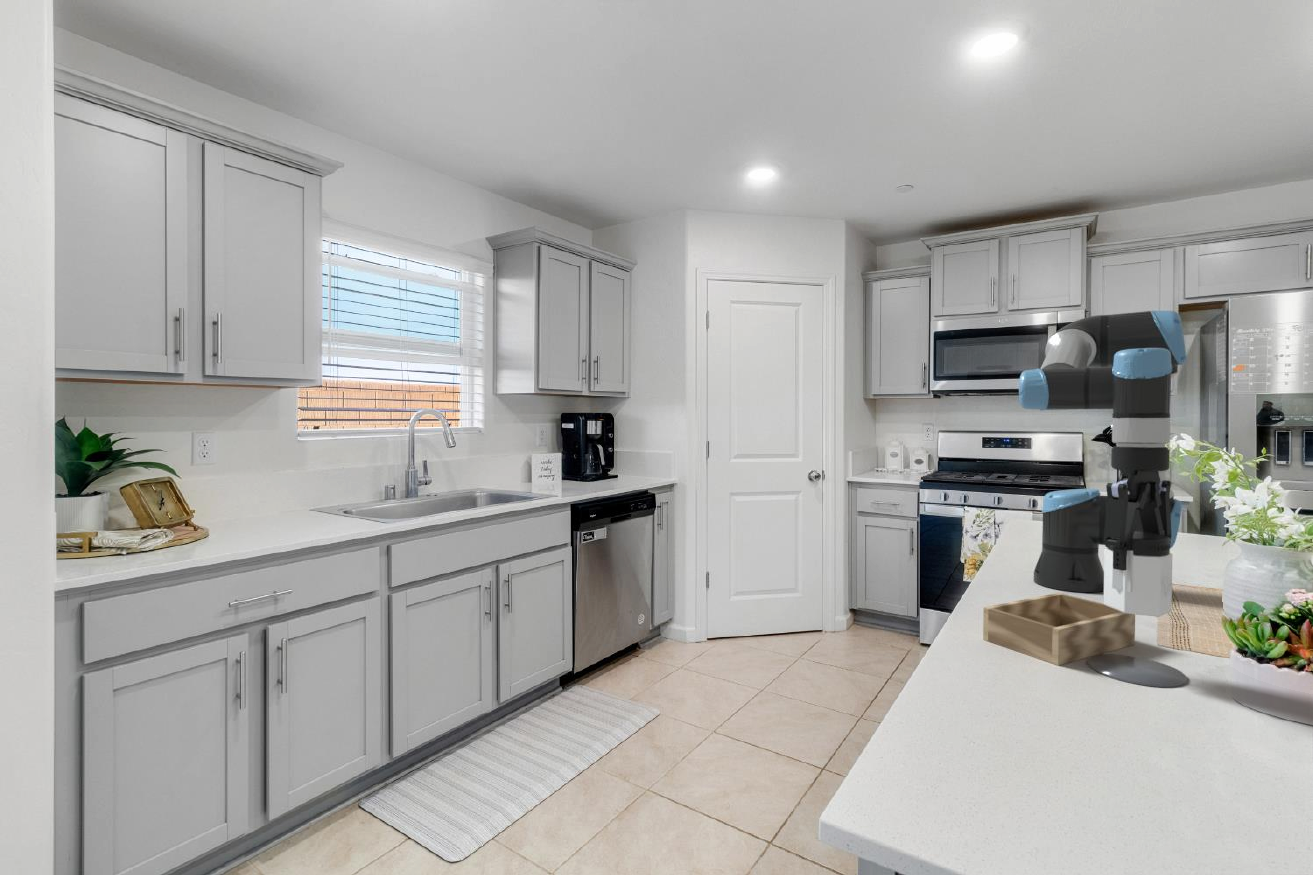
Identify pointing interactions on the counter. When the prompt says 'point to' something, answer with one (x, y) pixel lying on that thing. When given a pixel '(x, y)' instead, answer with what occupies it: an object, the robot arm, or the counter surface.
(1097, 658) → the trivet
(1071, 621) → the frame
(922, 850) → the counter surface
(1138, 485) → the robot arm
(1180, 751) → the counter surface
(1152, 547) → the jar
